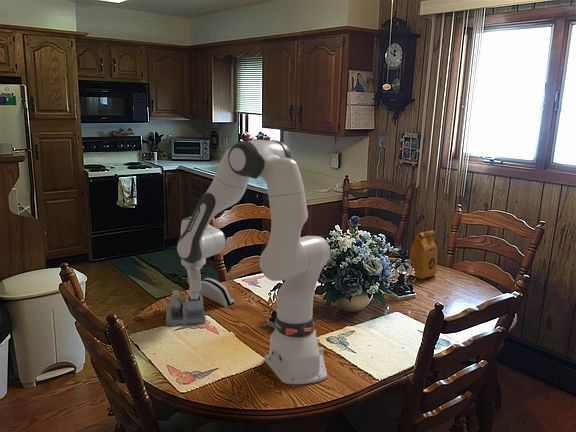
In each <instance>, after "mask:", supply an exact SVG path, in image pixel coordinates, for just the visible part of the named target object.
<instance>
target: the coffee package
mask: <svg viewBox="0 0 576 432" xmlns="http://www.w3.org/2000/svg"><path fill="white" fill-rule="evenodd" d="M433 235H435V232H434V230H429V231H427V230H426V231H422V232H420V233H418V234H417V236H416V237H415V239H414V240H413V242H412V244H411V246H410V247H411V248H410V255H409V263H410V262H411V264H412V266H413V267H414V271H415V277H414V278H417V279H422V280H423V279H426V278H431V277H434V276H436V274H437V270H438V269H437V264H438V248H437V244H436V243H435V240H434V236H433Z"/></svg>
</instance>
